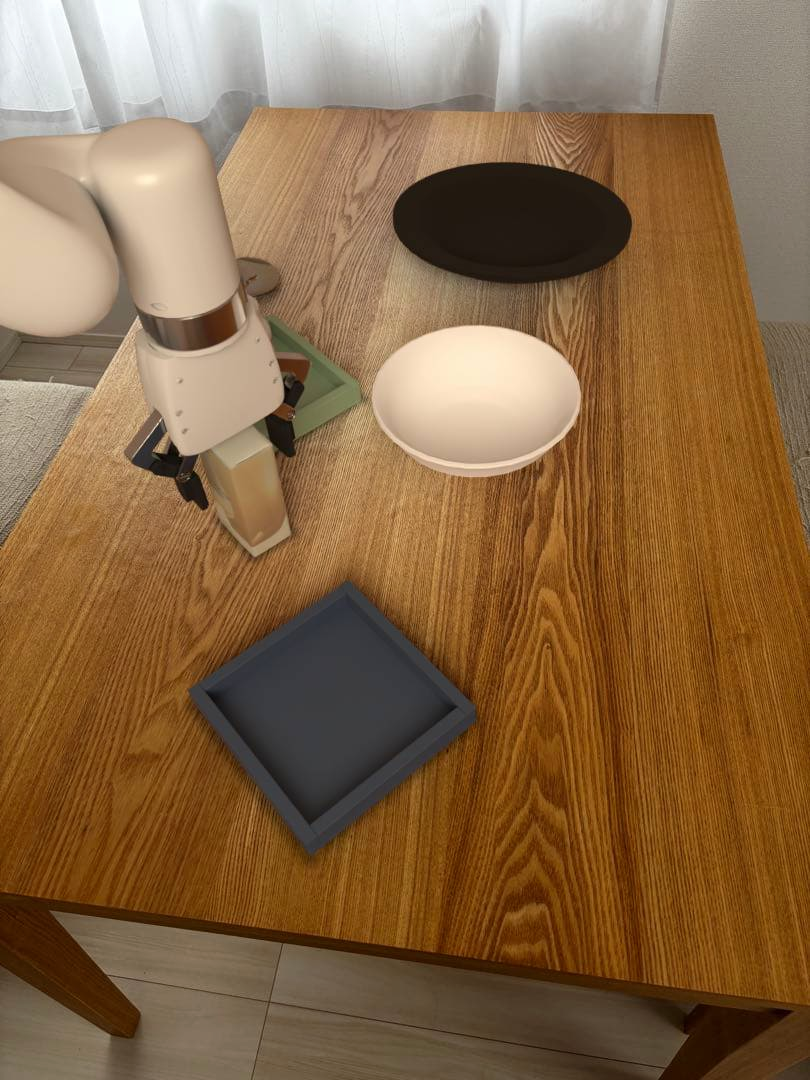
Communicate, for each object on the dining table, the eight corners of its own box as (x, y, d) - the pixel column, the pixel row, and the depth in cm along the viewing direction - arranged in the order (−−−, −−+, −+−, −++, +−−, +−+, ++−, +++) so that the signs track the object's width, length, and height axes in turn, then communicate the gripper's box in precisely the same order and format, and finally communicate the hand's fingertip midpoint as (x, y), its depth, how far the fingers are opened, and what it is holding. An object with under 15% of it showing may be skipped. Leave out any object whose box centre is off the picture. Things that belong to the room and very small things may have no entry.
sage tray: (234, 476, 85) (228, 459, 83) (153, 395, 93) (147, 377, 91) (361, 400, 91) (359, 382, 89) (275, 330, 99) (272, 312, 97)
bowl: (410, 358, 95) (407, 310, 90) (590, 390, 90) (598, 341, 85) (348, 489, 83) (341, 442, 78) (551, 532, 79) (558, 486, 74)
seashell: (280, 314, 104) (279, 263, 107) (280, 297, 101) (279, 245, 104) (209, 312, 102) (210, 260, 106) (208, 294, 100) (209, 241, 103)
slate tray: (310, 856, 62) (306, 844, 60) (194, 704, 70) (187, 689, 68) (475, 722, 68) (476, 707, 66) (351, 595, 76) (348, 579, 74)
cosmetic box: (218, 520, 82) (187, 427, 72) (256, 497, 83) (230, 402, 74) (256, 561, 79) (228, 469, 69) (295, 536, 80) (273, 442, 71)
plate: (367, 297, 102) (363, 256, 98) (428, 191, 116) (426, 150, 111) (605, 336, 96) (612, 294, 91) (639, 219, 109) (647, 177, 105)
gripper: (264, 237, 67) (297, 405, 80) (57, 336, 60) (131, 500, 74) (322, 279, 63) (346, 448, 76) (108, 390, 56) (176, 552, 70)
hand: (241, 473), depth 75 cm, fingers open, 8 cm apart
